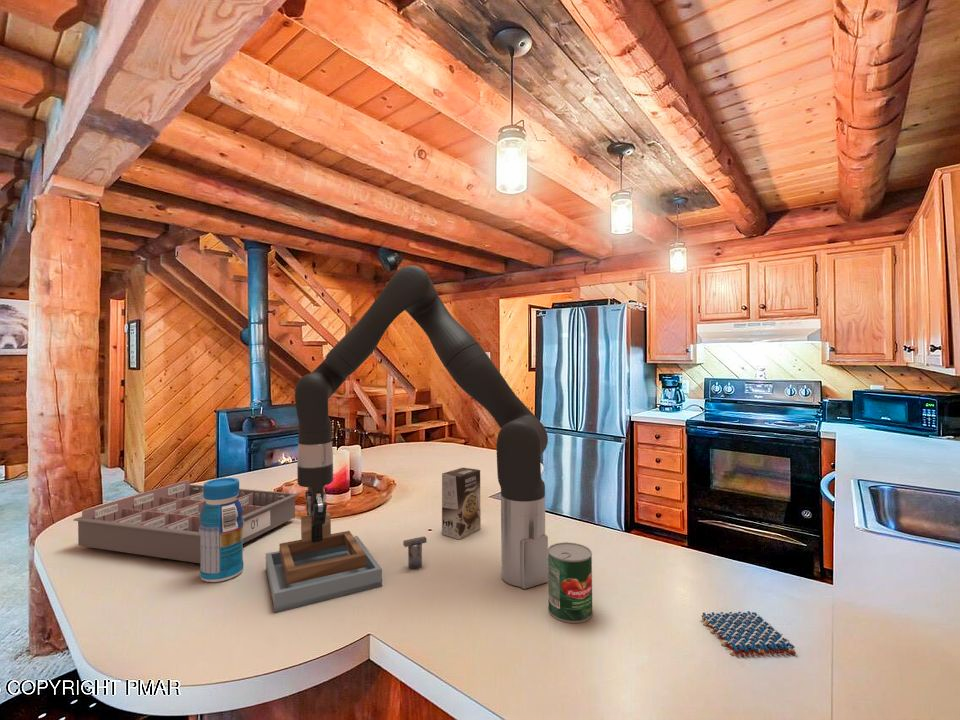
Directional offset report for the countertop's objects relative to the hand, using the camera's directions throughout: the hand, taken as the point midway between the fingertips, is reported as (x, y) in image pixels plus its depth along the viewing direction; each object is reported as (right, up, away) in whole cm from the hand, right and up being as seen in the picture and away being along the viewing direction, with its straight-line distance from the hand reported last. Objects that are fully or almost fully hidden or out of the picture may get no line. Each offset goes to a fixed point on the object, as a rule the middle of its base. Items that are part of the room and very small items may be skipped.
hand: (316, 539), depth 104 cm
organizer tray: (-38, -6, +18) cm, 43 cm away
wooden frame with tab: (+3, -2, -6) cm, 7 cm away
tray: (+3, -6, -6) cm, 9 cm away
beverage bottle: (-19, -6, -4) cm, 20 cm away
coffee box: (+32, -6, +19) cm, 37 cm away
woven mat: (+80, -6, -28) cm, 85 cm away
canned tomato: (+53, -6, -20) cm, 57 cm away
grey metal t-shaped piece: (+22, -6, -1) cm, 23 cm away
